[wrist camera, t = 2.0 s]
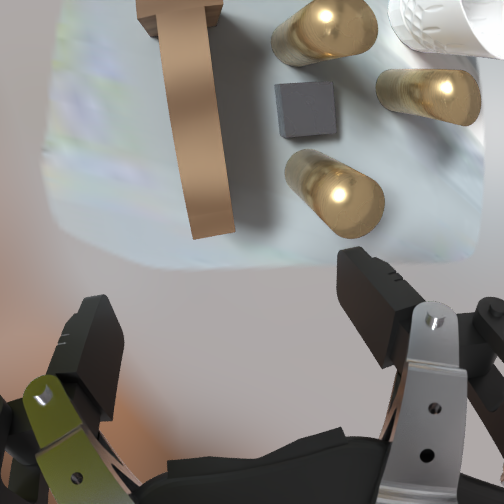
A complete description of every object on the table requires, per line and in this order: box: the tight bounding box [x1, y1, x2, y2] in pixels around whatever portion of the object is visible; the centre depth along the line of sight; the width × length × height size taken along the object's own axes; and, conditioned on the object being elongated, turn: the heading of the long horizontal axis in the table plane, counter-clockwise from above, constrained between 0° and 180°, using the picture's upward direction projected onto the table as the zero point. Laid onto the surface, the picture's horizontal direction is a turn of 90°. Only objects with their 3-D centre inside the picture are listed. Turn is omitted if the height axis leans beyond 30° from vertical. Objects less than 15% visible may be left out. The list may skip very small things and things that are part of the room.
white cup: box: [387, 0, 504, 60], centre depth 16 cm, size 8×8×10 cm
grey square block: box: [274, 82, 337, 138], centre depth 23 cm, size 4×4×2 cm
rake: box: [136, 0, 235, 240], centre depth 19 cm, size 16×5×6 cm, turn 7°
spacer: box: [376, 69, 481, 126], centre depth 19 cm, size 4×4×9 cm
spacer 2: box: [285, 149, 385, 239], centre depth 22 cm, size 4×4×9 cm
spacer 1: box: [271, 0, 378, 67], centre depth 17 cm, size 4×4×9 cm
